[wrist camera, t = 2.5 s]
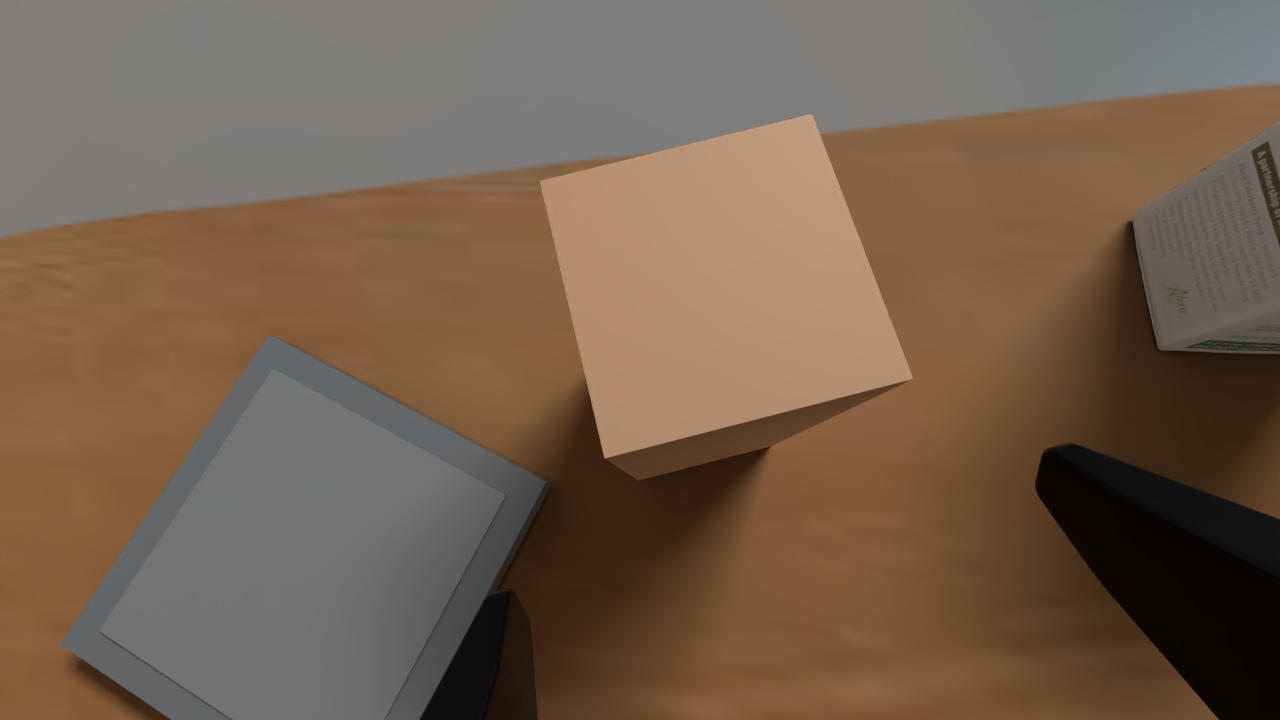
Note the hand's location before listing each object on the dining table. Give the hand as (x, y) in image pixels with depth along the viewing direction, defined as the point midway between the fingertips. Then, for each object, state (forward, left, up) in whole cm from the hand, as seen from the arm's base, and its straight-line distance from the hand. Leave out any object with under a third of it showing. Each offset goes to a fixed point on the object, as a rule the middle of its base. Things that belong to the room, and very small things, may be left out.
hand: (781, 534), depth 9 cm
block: (+3, +3, -11) cm, 12 cm away
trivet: (-8, +12, -11) cm, 18 cm away
